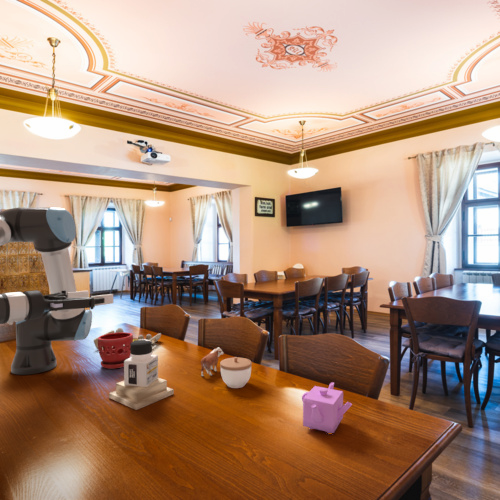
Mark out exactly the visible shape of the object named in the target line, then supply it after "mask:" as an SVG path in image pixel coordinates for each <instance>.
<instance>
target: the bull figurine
mask: <svg viewBox="0 0 500 500" xmlns="http://www.w3.org/2000/svg"><path fill="white" fill-rule="evenodd" d="M221 355H224V351H223V349H222V348H220V347H215V348H213V350H212V351H210V352H209V353H208V354H206V355H204V357H202V359H200V365H201V369H200V372H201V375H200V377H204V371H205V372H206V374H208V375H209V376H213V373H212V372H211V370H213V371H214V372H218V370H217V366H218V363H219V357H220V356H221ZM213 366H214V368H213Z"/></svg>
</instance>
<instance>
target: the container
mask: <svg viewBox="0 0 500 500" xmlns="http://www.w3.org/2000/svg"><path fill="white" fill-rule="evenodd" d="M158 378H159V355H158V354H153V344H152V342H151V341H150V340H146V338H144V339H141V340H136V341H133V342H132V343H131V344H130V358H128V359H126V360H125V361H124V367H123V381H124V385H127V386H138V387H147V386H149V385H150V384H151V383H153V382H154V381H155V380H156V379H158Z"/></svg>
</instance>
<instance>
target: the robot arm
mask: <svg viewBox="0 0 500 500" xmlns="http://www.w3.org/2000/svg"><path fill="white" fill-rule="evenodd" d="M76 229H77V228H76V222H75V220H74V217H73V215H72V213H71V212H70V211H68V210H67V209H65V208H64V207H63V208H61V207H54V206H51V207H20V206H19V207H13V208H9V209H4V210H3V211H0V247H1V246H4V245H6V244H7V243H32V244H33V248H34V250H35V251H36V252H38V253H39V254H40V255H41V259H42V264H43V267H44V272H45V276H46V279H47V284H48V288H49V292H50V294H44V295H43V293H42V292H41V291H40V290H39V289H38V290H37V289H35V290H25V291H23V292H22V291H14V292H13V291H12V292H2V293H0V325H3V324H8V325H9V326H12V325H14V323H15V339H16V340H15V342H16V343H15V344H16V345H15V347H16V350H15V354H14V357H13V359H12V363H11V365H10V370H11V371H10V372H11V374H14V375H21V376H23V375H24V376H25V375H36V374H40V373H43V372H47V371H51V370H52V369H54V368H56V367H57V356H56V354H55V352H54V349H53V346H52V342H60V341H61V342H64V341H66V342H67V341H70V342H71V341H74V342H76V341H82V340H86V338H87V337H88V336H89V334H90V331H91V328H92V324H93V323H92V322H93V312H92V311H91V310H93V309H94V308H95V307H97V306H102V305H111V304H114V293H109V294H100V295H91V296H90V297H89V295H90V291H89V290H80V291H78V289H77V286H76V285H77V284H76V280H75V275H74V270H73V265H72V261H71V257H70V252H69V251H70V250H69V248H70V247H71V246H72V242H74V241H75V238H76V234H77V232H76ZM88 308H89V309H88Z"/></svg>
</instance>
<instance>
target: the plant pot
mask: <svg viewBox="0 0 500 500" xmlns="http://www.w3.org/2000/svg"><path fill="white" fill-rule="evenodd" d="M104 334H105V335H104ZM104 334H103V335H100V336H98V337H97V338H98V349H97V350H98V353H99V357H100V358H101V361H100V366H101V367H102V368H104V369H111V370H113V369H114V370H115V369H121V368H124V361H125V360H126V359H128V358H130V357H131V356H130V344H131V343H132V342H133V338H134V335H133V333H132V332H119V333H110V334H106V333H104ZM123 345H125V346H123ZM102 347H103V350H102ZM112 347H113V348H112Z"/></svg>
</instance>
